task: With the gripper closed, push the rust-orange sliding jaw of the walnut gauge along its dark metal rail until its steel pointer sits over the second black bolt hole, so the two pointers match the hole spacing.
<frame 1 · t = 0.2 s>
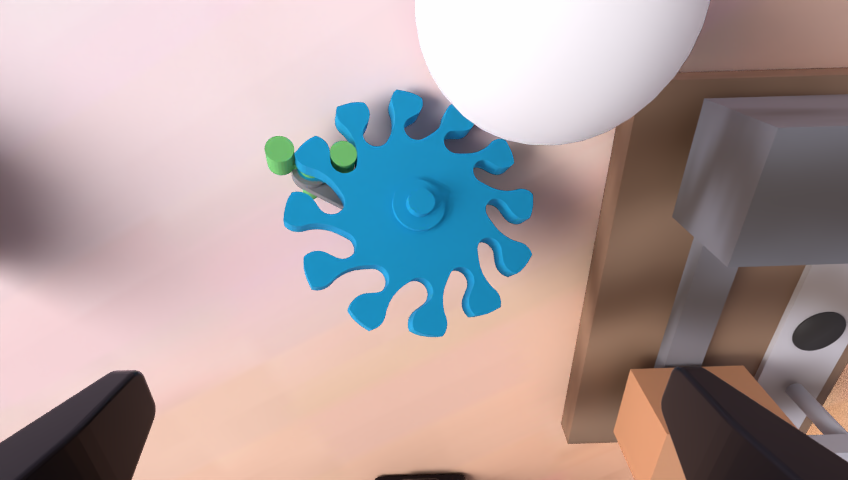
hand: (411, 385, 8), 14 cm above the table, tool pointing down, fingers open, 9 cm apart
gear: (404, 169, 21), on the table
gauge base: (724, 283, 25), on the table
sliding jaw: (734, 425, 24), point 4 cm above the table, slide at 0.0 cm
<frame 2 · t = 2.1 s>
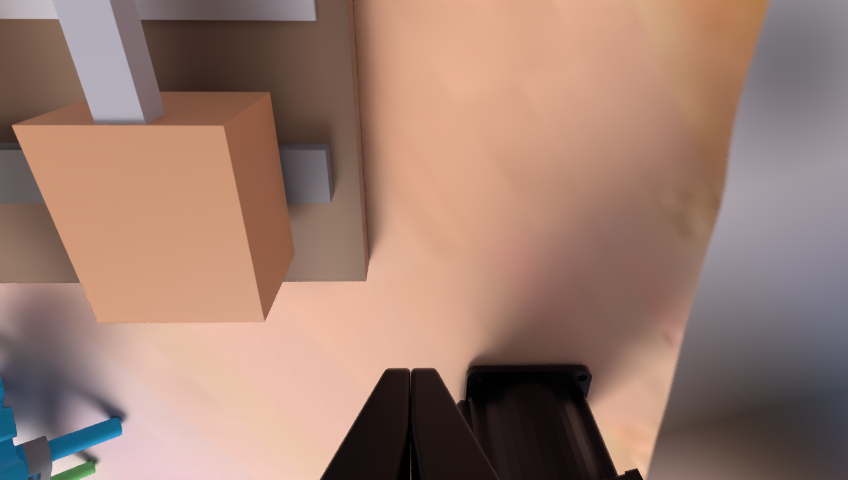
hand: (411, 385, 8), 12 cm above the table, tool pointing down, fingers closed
gear: (57, 408, 25), on the table
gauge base: (59, 90, 17), on the table
sliding jaw: (170, 131, 13), point 4 cm above the table, slide at 0.0 cm
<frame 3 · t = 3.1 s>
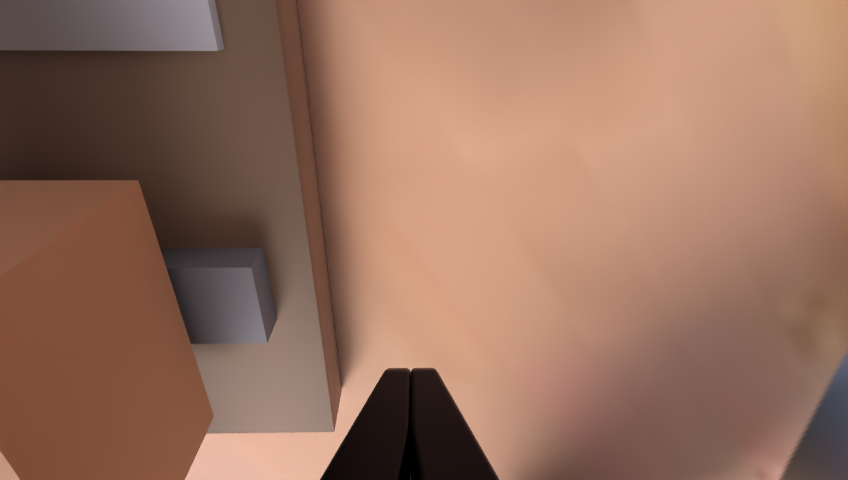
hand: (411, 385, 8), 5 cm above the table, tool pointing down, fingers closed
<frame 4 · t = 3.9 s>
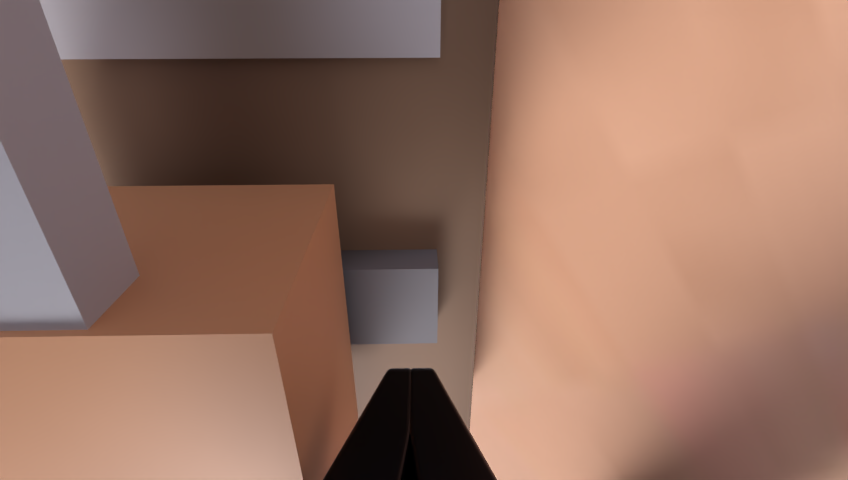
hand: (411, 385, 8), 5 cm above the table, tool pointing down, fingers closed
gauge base: (1, 165, 10), on the table
sliding jaw: (155, 276, 7), point 4 cm above the table, slide at 0.4 cm, touching gripper
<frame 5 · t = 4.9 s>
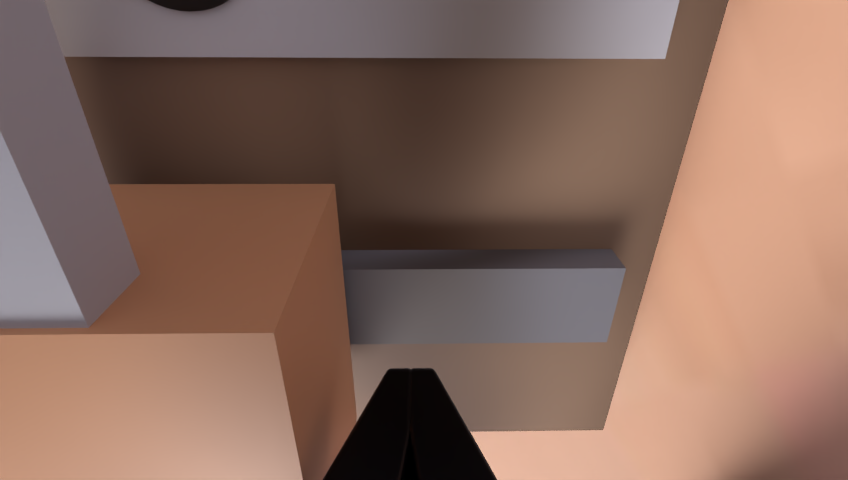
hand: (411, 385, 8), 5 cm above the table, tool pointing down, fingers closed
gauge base: (171, 162, 11), on the table
sliding jaw: (155, 275, 7), point 4 cm above the table, slide at 4.3 cm, touching gripper
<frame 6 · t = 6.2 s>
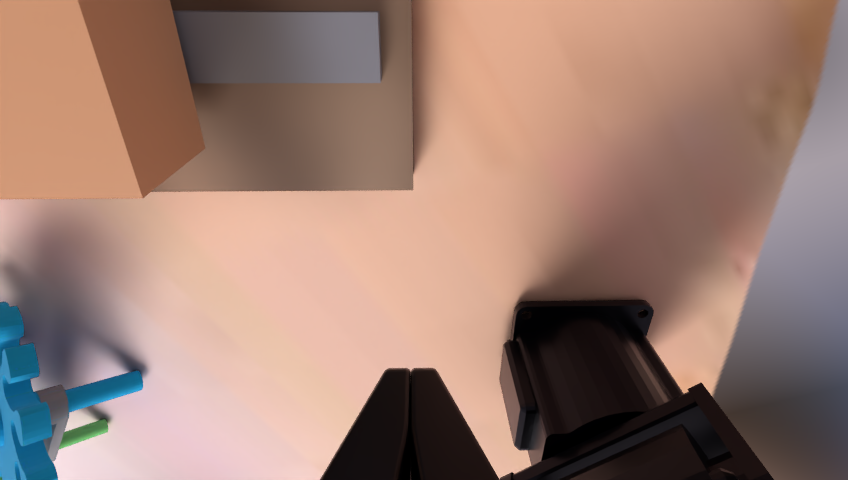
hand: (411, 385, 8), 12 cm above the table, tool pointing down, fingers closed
gear: (72, 358, 23), on the table
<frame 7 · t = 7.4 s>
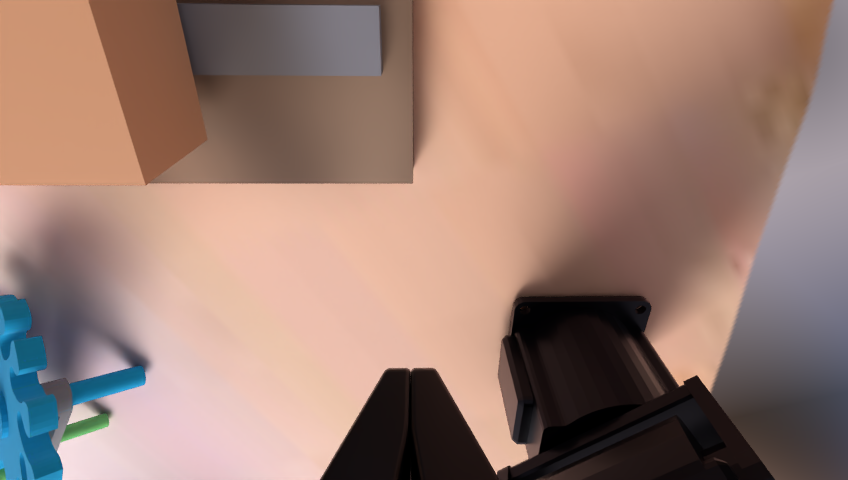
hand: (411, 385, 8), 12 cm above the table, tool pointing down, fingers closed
gear: (75, 352, 23), on the table
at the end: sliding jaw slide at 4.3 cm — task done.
